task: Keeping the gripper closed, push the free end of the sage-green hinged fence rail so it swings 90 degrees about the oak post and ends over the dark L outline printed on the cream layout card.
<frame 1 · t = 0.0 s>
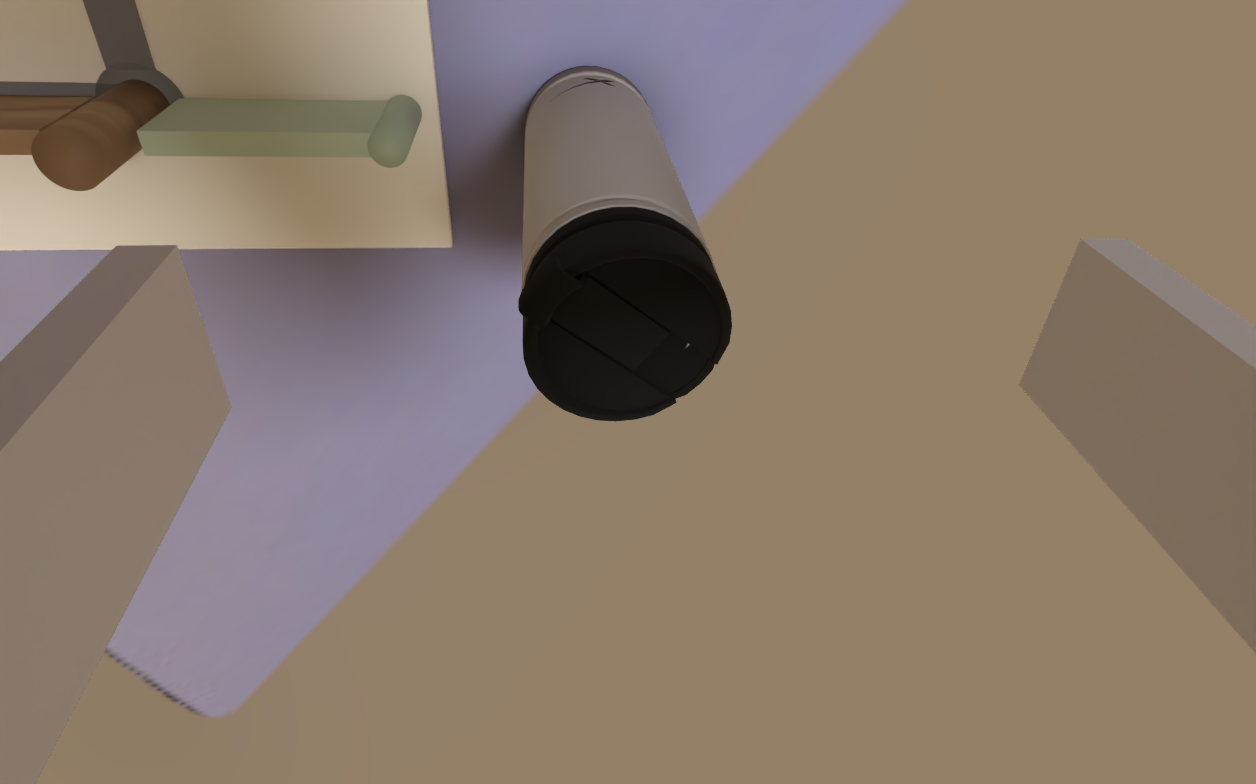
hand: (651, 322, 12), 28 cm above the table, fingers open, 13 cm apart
hinged rail: (290, 128, 33), point 3 cm above the table, hinge at 0.0°
fence fixed: (143, 106, 34), resting on layout card
layout card: (175, 32, 33), on the table
travel mug: (586, 128, 38), on the table
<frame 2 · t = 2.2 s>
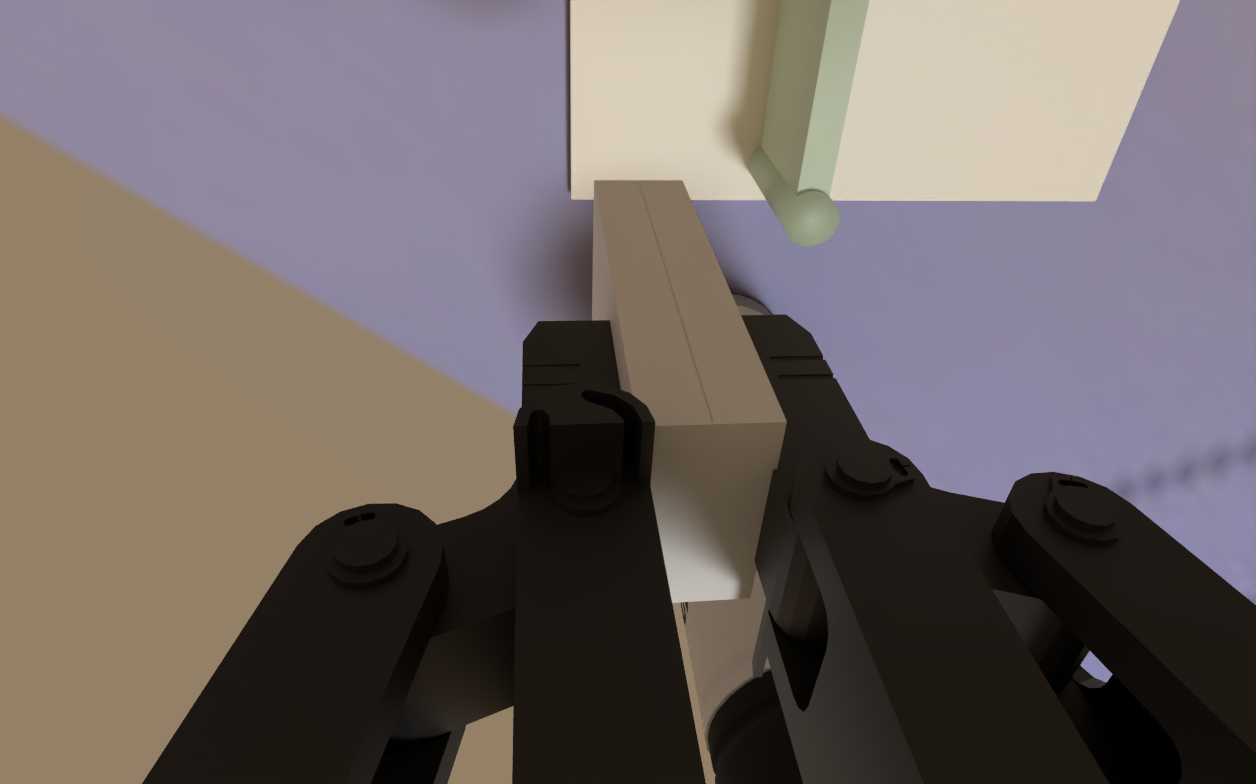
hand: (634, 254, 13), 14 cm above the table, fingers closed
hinged rail: (816, 42, 22), point 3 cm above the table, hinge at 0.0°
travel mug: (712, 349, 32), on the table
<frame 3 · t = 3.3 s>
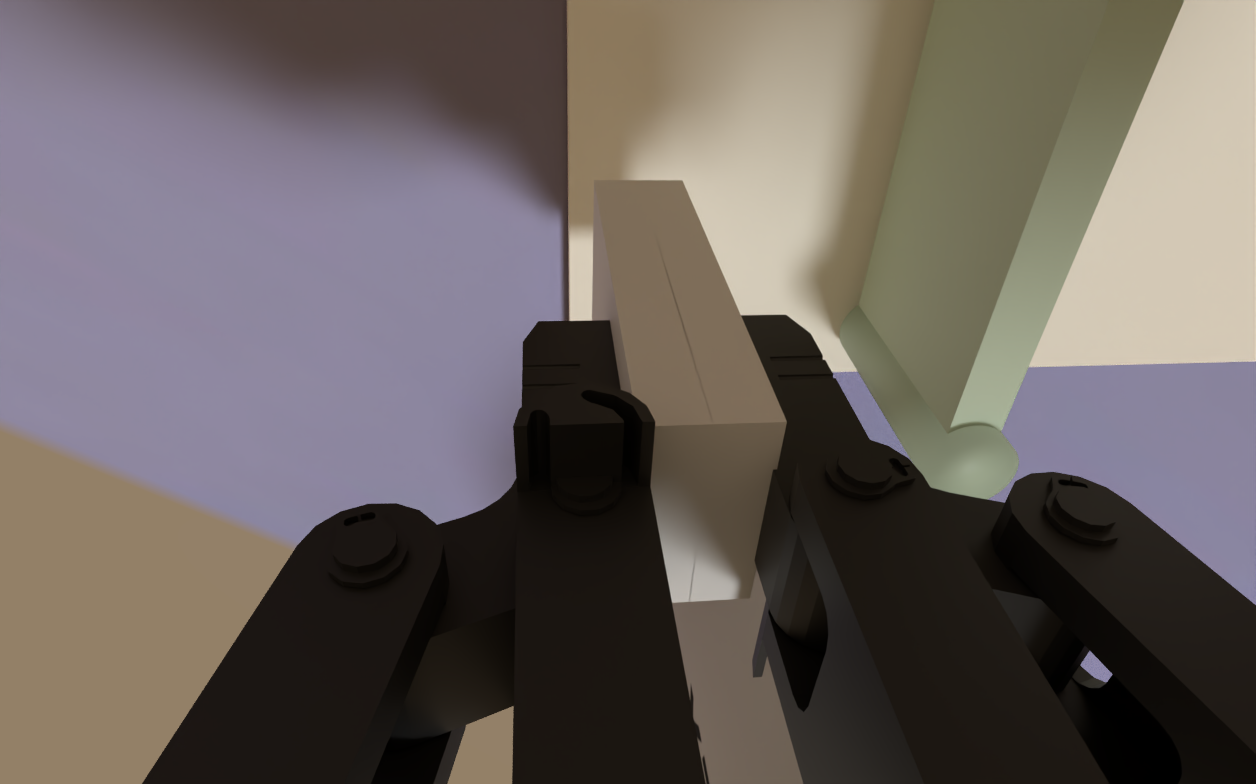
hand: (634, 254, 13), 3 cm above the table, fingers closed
hinged rail: (986, 181, 13), point 3 cm above the table, hinge at 0.0°
travel mug: (764, 543, 23), on the table
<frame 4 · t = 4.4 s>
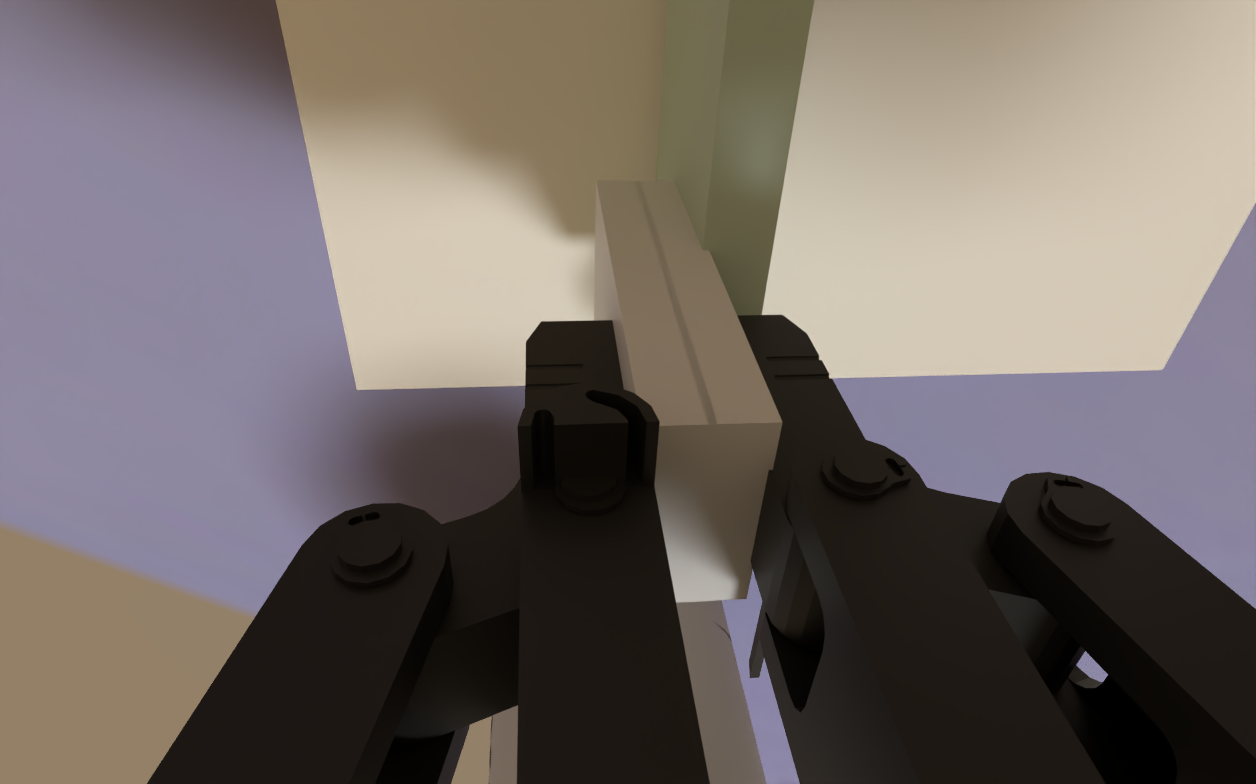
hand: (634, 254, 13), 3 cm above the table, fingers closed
hinged rail: (710, 186, 12), point 3 cm above the table, hinge at 0.1°, touching gripper
travel mug: (607, 557, 23), on the table
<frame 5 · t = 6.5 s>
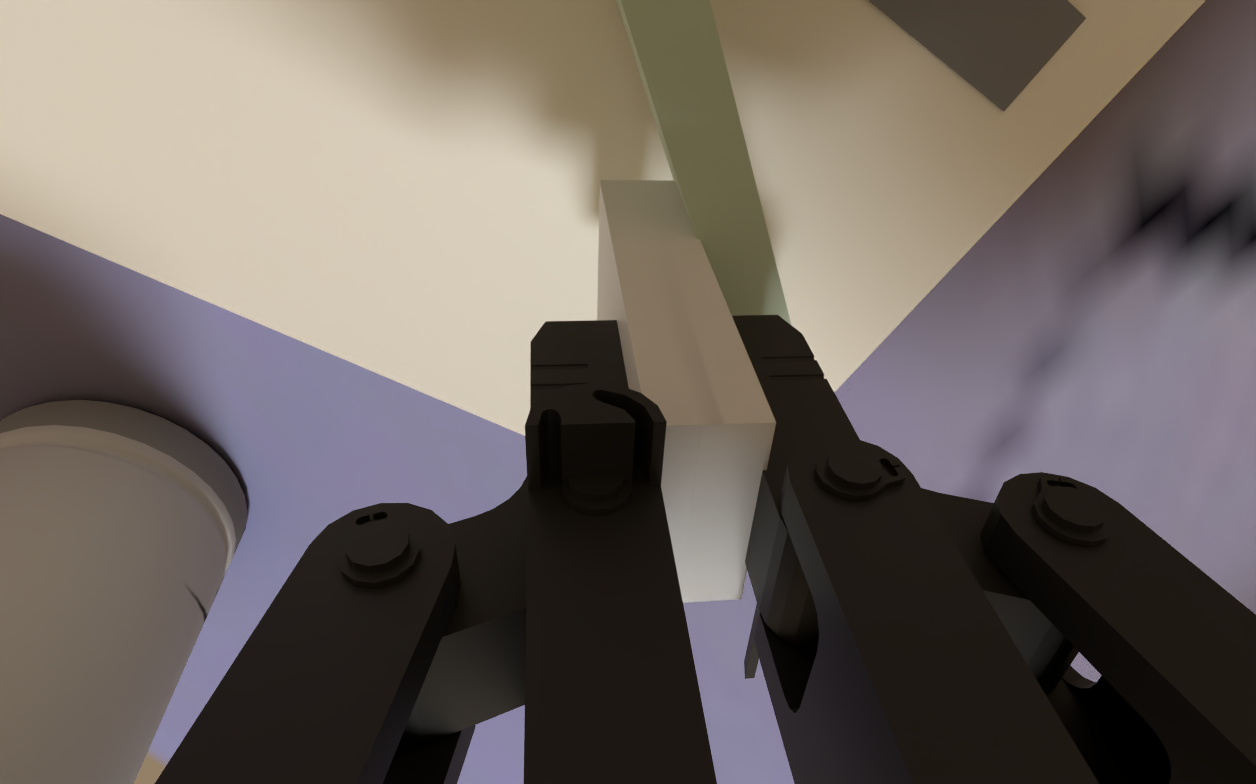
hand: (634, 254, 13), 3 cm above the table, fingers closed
hinged rail: (700, 156, 12), point 4 cm above the table, hinge at 51.9°, touching gripper
travel mug: (131, 483, 20), on the table
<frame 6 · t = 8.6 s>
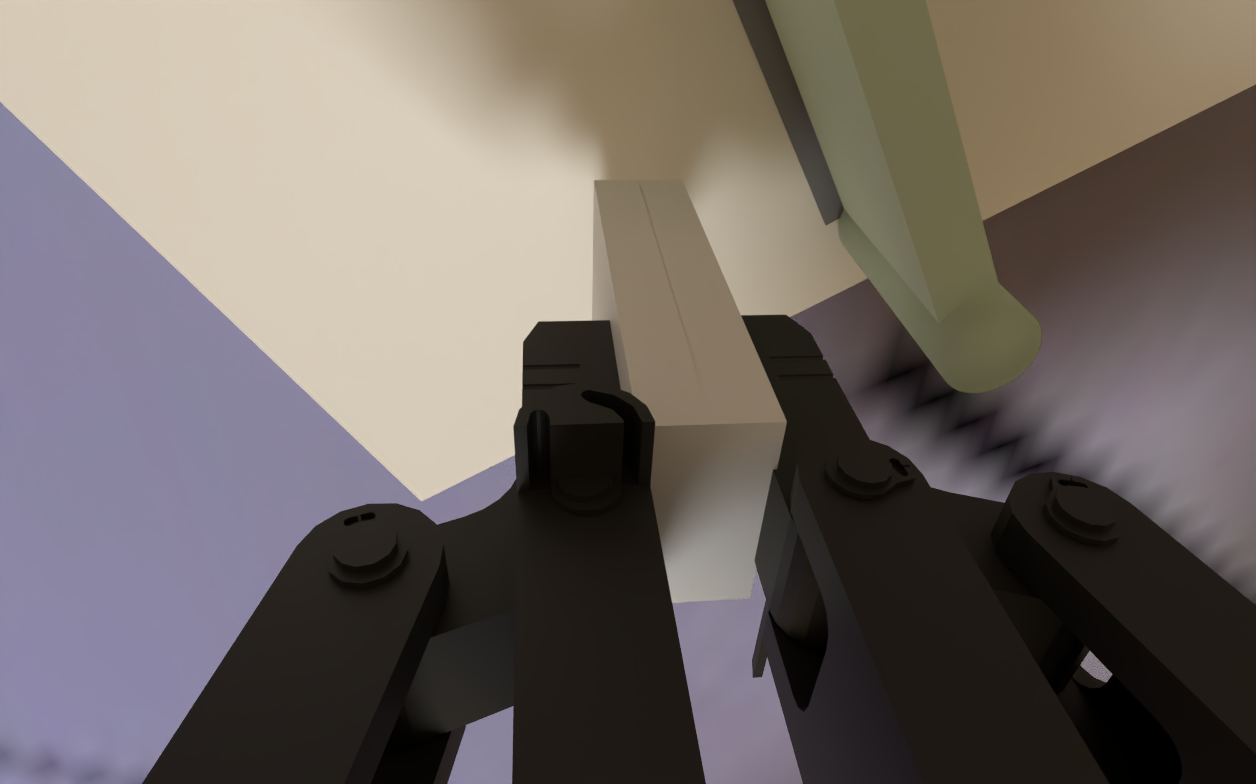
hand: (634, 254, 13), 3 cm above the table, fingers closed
hinged rail: (851, 51, 11), point 3 cm above the table, hinge at 89.6°
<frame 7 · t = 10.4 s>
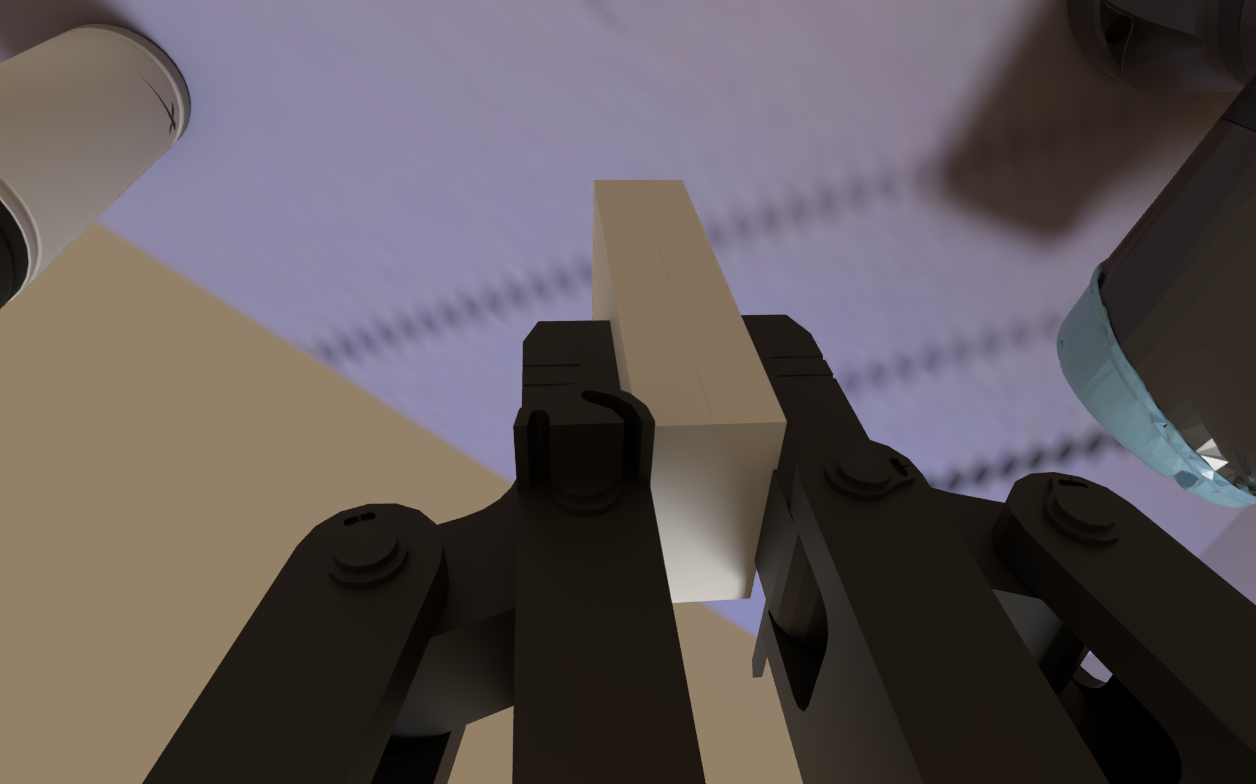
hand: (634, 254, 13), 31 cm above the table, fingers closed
travel mug: (126, 86, 38), on the table
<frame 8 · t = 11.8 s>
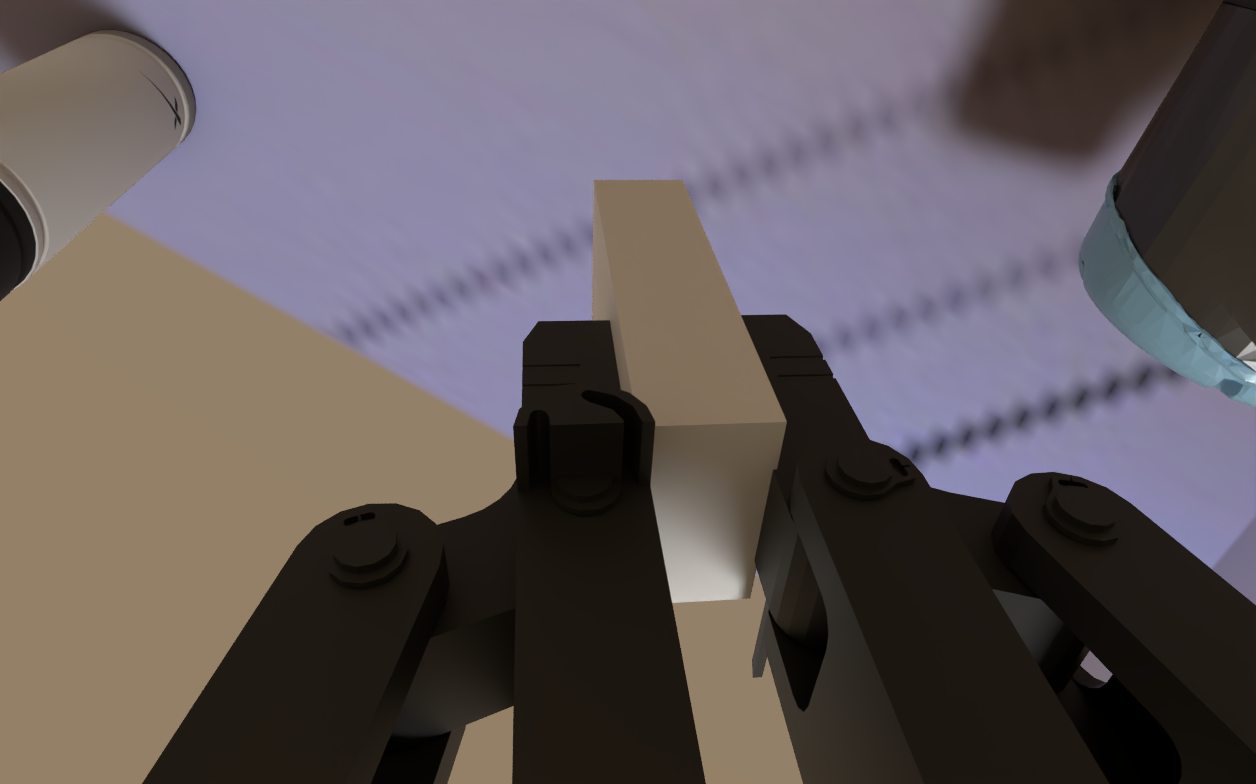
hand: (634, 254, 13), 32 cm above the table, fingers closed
travel mug: (136, 88, 41), on the table
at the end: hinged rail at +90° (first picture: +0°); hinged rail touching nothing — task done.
